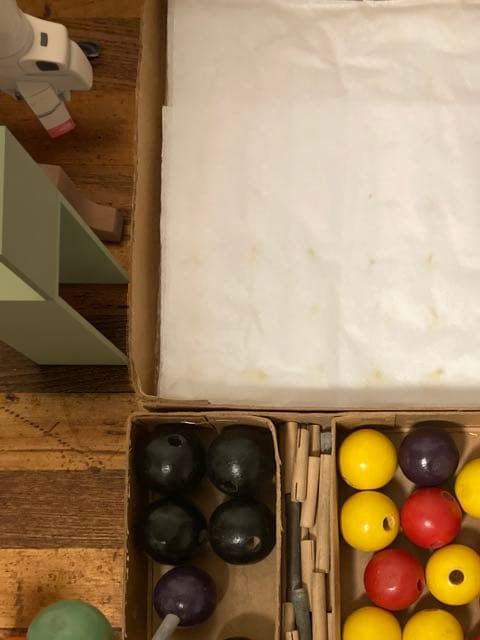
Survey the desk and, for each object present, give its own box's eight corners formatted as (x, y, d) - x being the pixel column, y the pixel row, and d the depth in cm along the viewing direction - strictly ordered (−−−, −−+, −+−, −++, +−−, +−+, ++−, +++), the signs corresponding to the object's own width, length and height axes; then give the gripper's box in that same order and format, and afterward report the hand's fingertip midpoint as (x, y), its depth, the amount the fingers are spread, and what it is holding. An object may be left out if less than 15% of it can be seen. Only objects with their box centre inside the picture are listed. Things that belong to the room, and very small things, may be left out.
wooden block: (124, 218, 151) (88, 168, 133) (121, 243, 151) (84, 195, 133) (75, 212, 151) (32, 161, 133) (71, 236, 151) (28, 188, 133)
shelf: (38, 364, 149) (-134, 253, 101) (40, 276, 150) (-128, 124, 102) (128, 364, 150) (1, 254, 101) (130, 277, 151) (5, 125, 102)
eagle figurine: (81, 97, 151) (111, 56, 150) (48, 68, 146) (79, 24, 144) (67, 85, 156) (96, 45, 155) (33, 56, 150) (63, 14, 149)
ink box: (77, 128, 148) (51, 87, 136) (51, 139, 147) (23, 100, 136) (55, 85, 148) (28, 41, 136) (30, 97, 148) (0, 53, 136)
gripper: (-62, 61, 129) (-20, 113, 142) (74, 64, 129) (102, 115, 143) (-60, 22, 129) (-18, 77, 143) (75, 25, 130) (103, 80, 144)
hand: (43, 96), depth 143 cm, fingers closed on ink box, 6 cm apart
